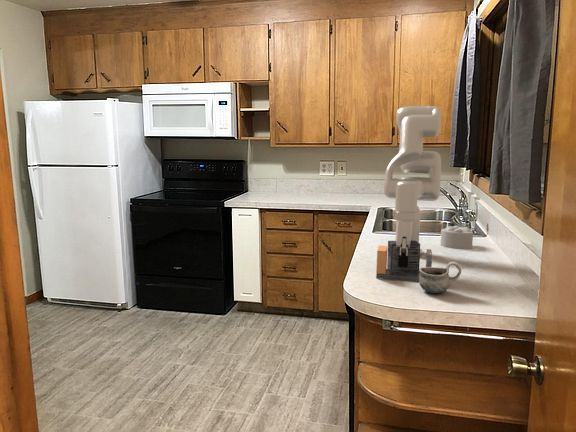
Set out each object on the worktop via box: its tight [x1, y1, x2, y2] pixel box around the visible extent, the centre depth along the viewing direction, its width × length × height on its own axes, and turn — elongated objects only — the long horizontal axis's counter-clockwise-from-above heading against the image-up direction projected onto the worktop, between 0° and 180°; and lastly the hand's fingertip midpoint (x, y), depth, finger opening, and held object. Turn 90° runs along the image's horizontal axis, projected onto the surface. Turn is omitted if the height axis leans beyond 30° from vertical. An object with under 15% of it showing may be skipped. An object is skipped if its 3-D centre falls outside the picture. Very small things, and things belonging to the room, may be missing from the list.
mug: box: [419, 261, 462, 294], centre depth 150 cm, size 10×12×10 cm
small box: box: [386, 240, 421, 271], centre depth 174 cm, size 11×6×10 cm, turn 91°
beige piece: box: [440, 225, 474, 250], centre depth 212 cm, size 10×13×9 cm
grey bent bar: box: [375, 248, 433, 283], centre depth 165 cm, size 8×18×10 cm, turn 76°
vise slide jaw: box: [376, 245, 388, 274], centre depth 167 cm, size 8×3×8 cm, turn 166°
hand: (403, 263), depth 175 cm, fingers closed on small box, 7 cm apart
